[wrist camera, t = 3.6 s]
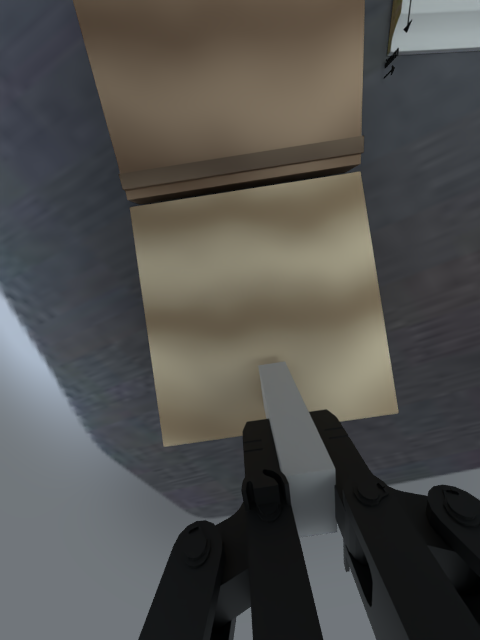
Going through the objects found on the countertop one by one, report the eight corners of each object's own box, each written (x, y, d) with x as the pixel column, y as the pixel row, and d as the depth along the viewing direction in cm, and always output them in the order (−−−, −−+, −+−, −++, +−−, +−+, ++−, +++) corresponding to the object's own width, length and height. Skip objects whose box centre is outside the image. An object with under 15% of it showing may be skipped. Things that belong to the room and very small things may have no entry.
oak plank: (143, 221, 16) (129, 207, 14) (345, 190, 16) (360, 171, 14) (173, 431, 16) (163, 446, 14) (378, 401, 16) (398, 413, 14)
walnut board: (47, -150, 11) (2, -247, 9) (347, -202, 11) (377, -313, 9) (139, 204, 16) (125, 199, 14) (344, 172, 16) (363, 162, 14)
